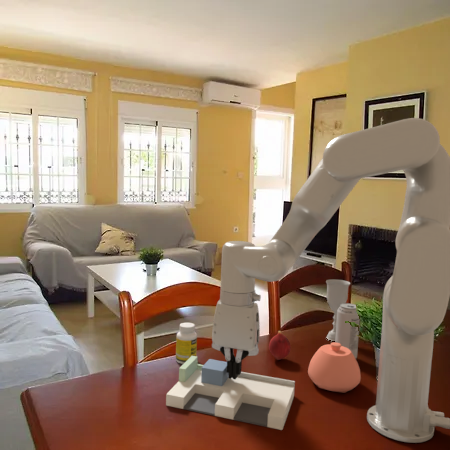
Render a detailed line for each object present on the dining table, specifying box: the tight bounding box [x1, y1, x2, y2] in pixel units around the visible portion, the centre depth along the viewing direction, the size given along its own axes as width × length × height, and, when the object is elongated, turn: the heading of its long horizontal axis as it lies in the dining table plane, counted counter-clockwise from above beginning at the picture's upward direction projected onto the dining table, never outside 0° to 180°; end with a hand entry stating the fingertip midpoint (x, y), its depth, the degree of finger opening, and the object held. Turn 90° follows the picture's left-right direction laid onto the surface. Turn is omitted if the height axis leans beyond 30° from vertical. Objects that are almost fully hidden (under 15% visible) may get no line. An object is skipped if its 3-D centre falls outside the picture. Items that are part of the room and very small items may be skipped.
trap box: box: [165, 355, 296, 431], centre depth 95 cm, size 25×14×6 cm, turn 72°
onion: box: [268, 330, 292, 361], centre depth 117 cm, size 6×6×8 cm
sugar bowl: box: [307, 342, 362, 394], centre depth 105 cm, size 12×14×10 cm
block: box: [201, 358, 229, 386], centre depth 100 cm, size 5×5×4 cm
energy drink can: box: [335, 302, 361, 360], centre depth 119 cm, size 6×6×15 cm
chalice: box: [325, 279, 351, 342], centre depth 134 cm, size 7×7×18 cm
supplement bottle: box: [175, 322, 198, 365], centre depth 115 cm, size 5×5×10 cm
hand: (233, 376), depth 98 cm, fingers closed
